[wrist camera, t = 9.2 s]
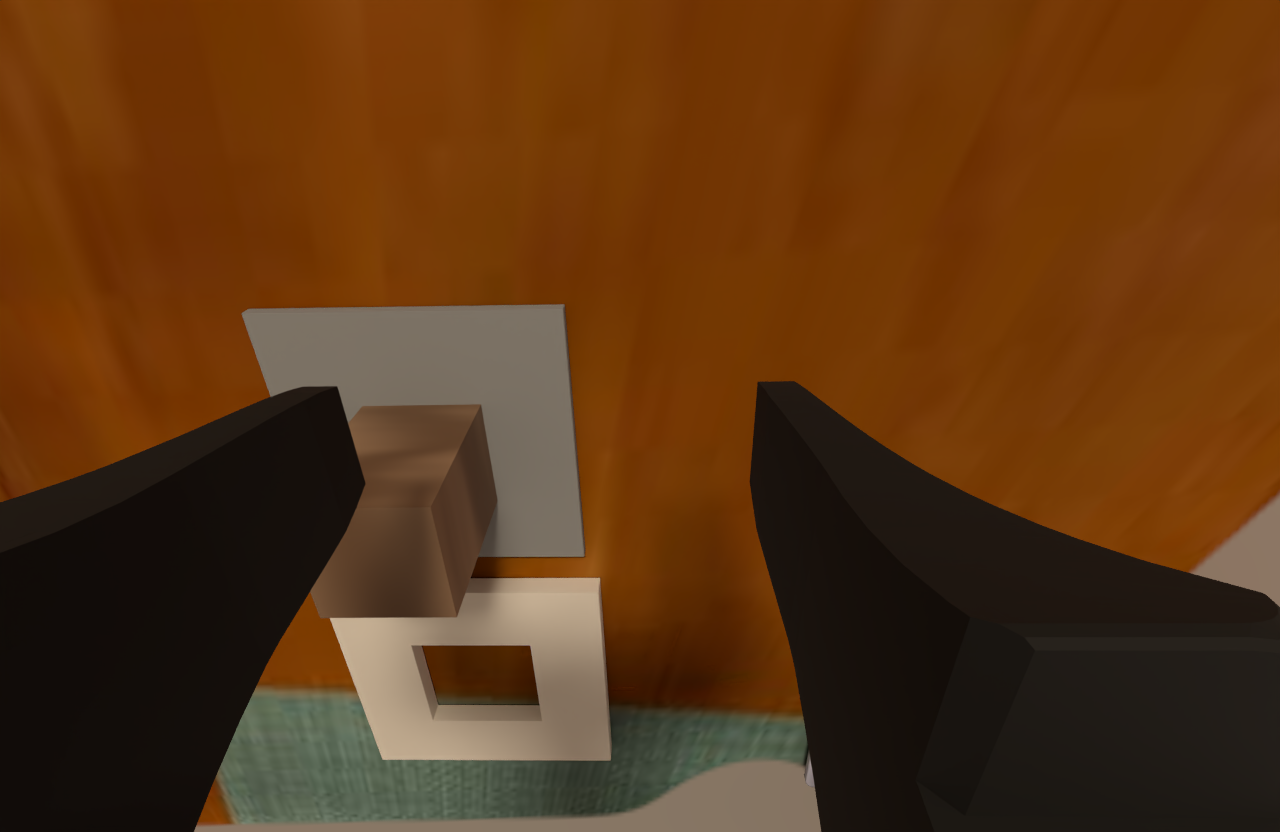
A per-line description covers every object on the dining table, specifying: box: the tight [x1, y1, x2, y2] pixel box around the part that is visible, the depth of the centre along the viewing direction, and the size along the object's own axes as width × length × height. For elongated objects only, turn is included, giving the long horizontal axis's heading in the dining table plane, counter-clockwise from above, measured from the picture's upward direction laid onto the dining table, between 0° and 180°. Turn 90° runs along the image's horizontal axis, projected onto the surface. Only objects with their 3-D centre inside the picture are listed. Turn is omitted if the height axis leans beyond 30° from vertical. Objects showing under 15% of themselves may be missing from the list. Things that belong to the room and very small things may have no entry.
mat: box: [242, 304, 585, 557], centre depth 22 cm, size 10×10×1 cm
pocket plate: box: [330, 578, 612, 761], centre depth 28 cm, size 11×11×1 cm
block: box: [310, 404, 498, 618], centre depth 20 cm, size 4×4×6 cm
